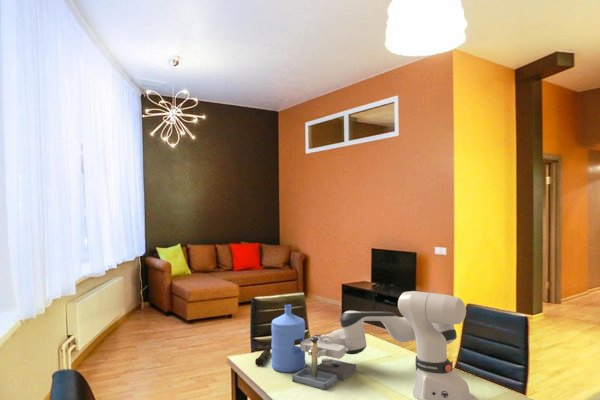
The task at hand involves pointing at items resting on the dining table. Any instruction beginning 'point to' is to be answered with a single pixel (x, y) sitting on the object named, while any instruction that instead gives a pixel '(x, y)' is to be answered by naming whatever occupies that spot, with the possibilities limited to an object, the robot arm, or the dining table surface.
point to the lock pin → (314, 357)
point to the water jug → (287, 342)
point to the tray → (314, 379)
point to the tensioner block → (337, 368)
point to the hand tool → (263, 356)
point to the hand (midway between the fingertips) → (313, 354)
